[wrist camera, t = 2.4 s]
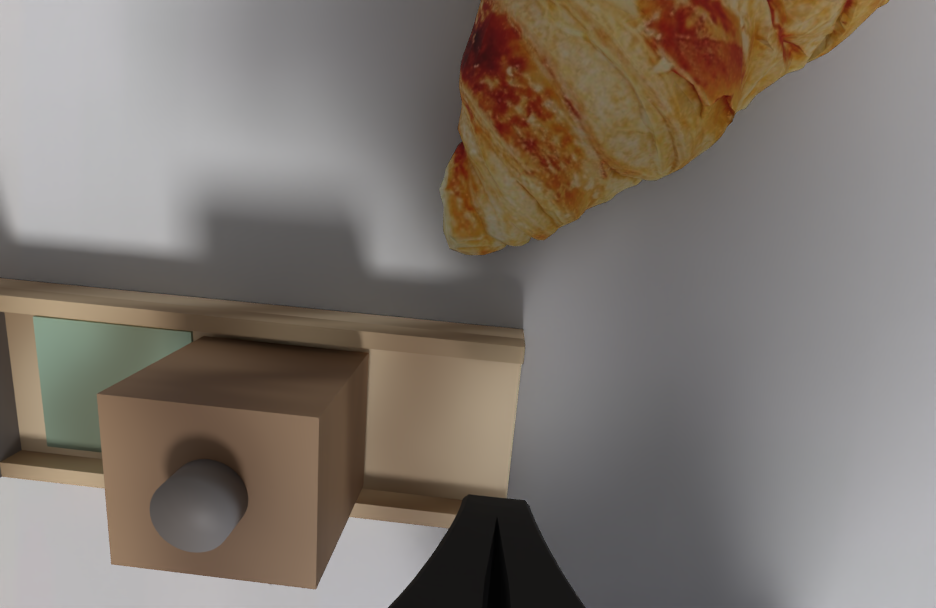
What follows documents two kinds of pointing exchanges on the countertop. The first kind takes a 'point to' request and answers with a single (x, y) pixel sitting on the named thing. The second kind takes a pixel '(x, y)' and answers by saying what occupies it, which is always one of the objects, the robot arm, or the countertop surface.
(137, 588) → the countertop surface
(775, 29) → the croissant
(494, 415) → the rail
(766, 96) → the countertop surface
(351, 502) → the carriage
